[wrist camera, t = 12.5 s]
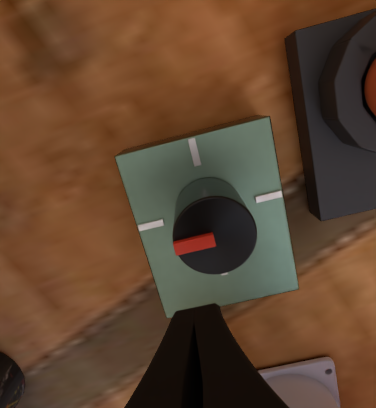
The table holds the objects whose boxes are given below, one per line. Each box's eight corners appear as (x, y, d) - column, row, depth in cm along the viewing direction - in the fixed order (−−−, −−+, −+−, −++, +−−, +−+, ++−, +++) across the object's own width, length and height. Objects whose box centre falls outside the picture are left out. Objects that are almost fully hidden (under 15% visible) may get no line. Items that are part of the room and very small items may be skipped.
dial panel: (286, 268, 21) (300, 291, 18) (168, 295, 21) (166, 320, 19) (258, 114, 18) (270, 115, 15) (123, 149, 18) (113, 156, 16)
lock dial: (235, 169, 16) (250, 188, 12) (248, 233, 17) (266, 268, 13) (167, 187, 16) (161, 210, 13) (184, 248, 17) (184, 287, 14)
